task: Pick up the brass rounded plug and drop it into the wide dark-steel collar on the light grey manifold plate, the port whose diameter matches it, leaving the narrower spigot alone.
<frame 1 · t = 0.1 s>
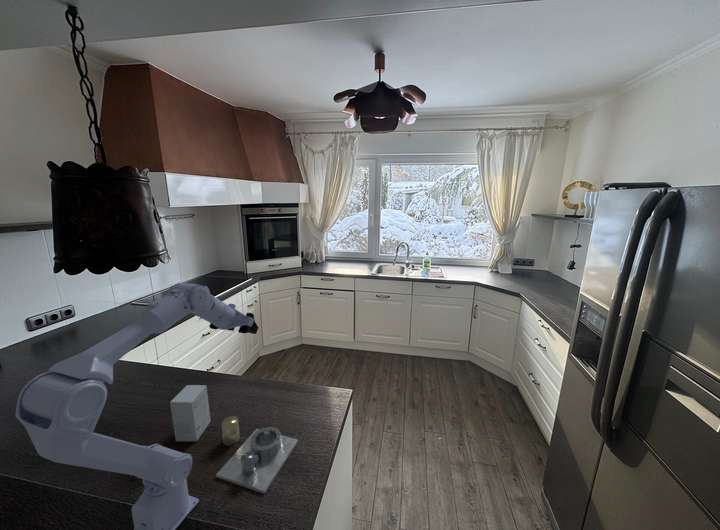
hand: (245, 328, 83), 32 cm above the worktop, tool tilted 50°, fingers open, 7 cm apart
brass rounded plug: (231, 439, 83), on the worktop
manifold plate: (260, 458, 77), on the worktop
small box: (193, 431, 86), on the worktop
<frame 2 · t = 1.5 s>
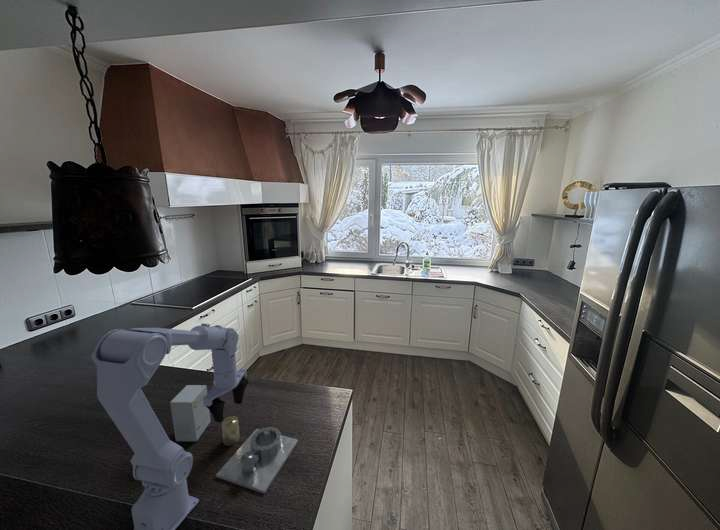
hand: (229, 411, 82), 9 cm above the worktop, tool pointing down, fingers open, 7 cm apart
nothing on the worktop moved.
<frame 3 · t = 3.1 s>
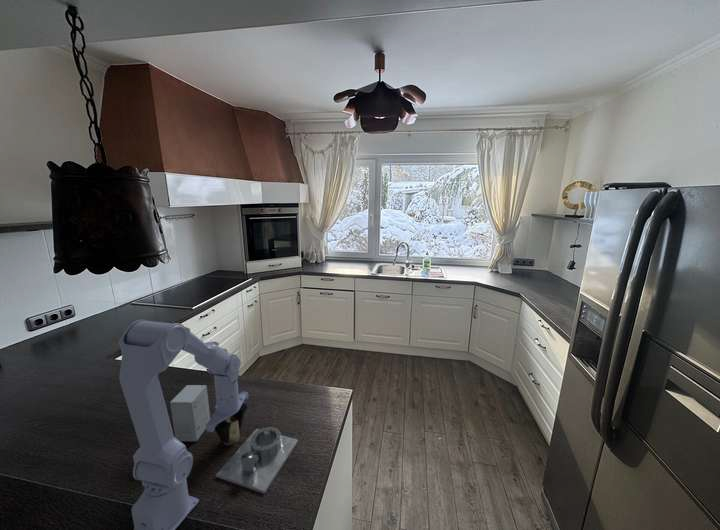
hand: (231, 434, 83), 1 cm above the worktop, tool pointing down, fingers closed on brass rounded plug, 4 cm apart
brass rounded plug: (231, 439, 83), on the worktop, touching gripper
everything else where it was.
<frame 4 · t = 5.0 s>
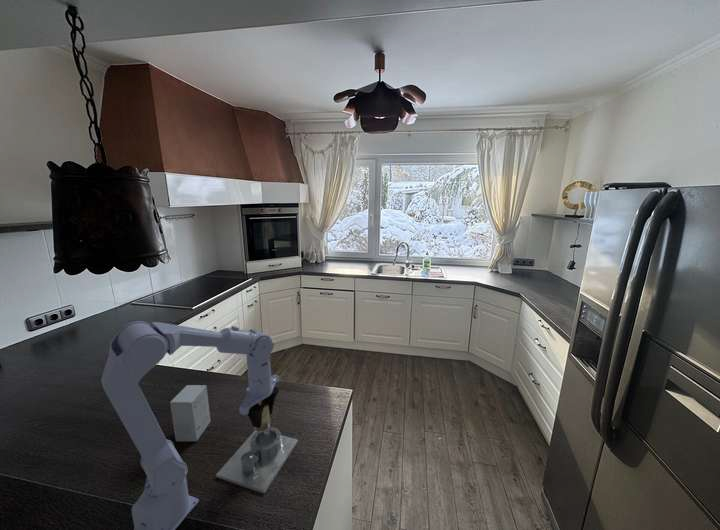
hand: (262, 419, 78), 9 cm above the worktop, tool pointing down, fingers closed on brass rounded plug, 4 cm apart
brass rounded plug: (262, 425, 79), point 8 cm above the worktop, touching gripper
everything else where it was.
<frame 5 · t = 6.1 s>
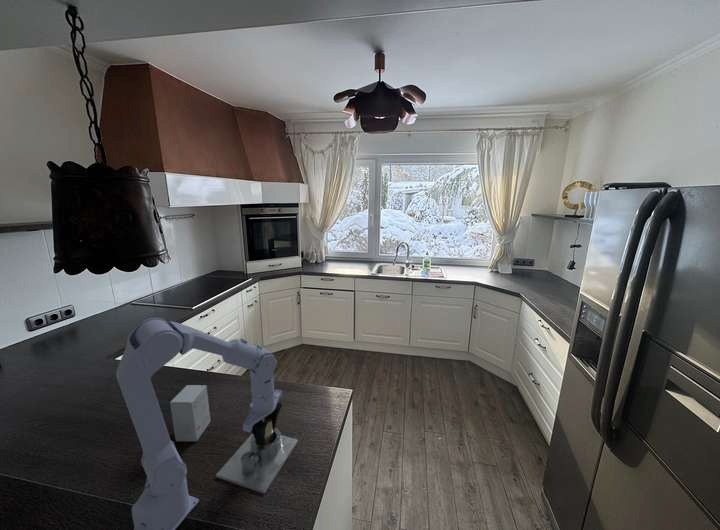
hand: (265, 435, 79), 5 cm above the worktop, tool pointing down, fingers closed on brass rounded plug, 4 cm apart
brass rounded plug: (265, 440, 79), point 3 cm above the worktop, touching gripper
everything else where it was.
when the fingers open (5 cm above the worktop, at t = 6.8 s): brass rounded plug drops 2 cm, resting on manifold plate.
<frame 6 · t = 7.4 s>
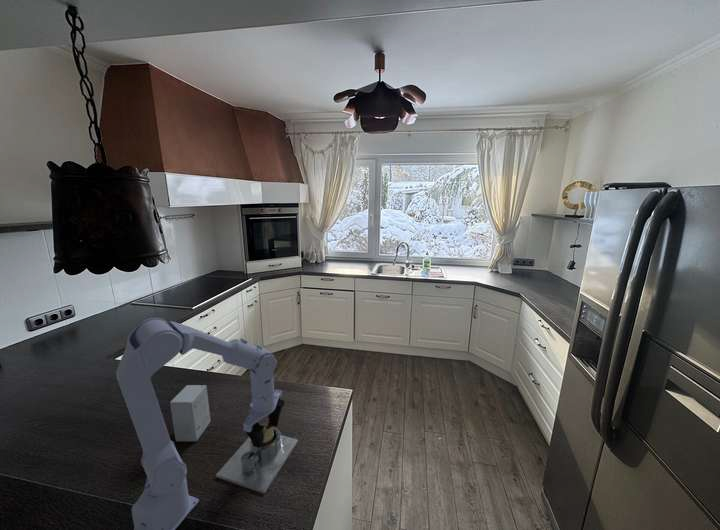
hand: (265, 435, 79), 5 cm above the worktop, tool pointing down, fingers open, 7 cm apart
brass rounded plug: (265, 446, 80), point 1 cm above the worktop, touching manifold plate
everything else where it was.
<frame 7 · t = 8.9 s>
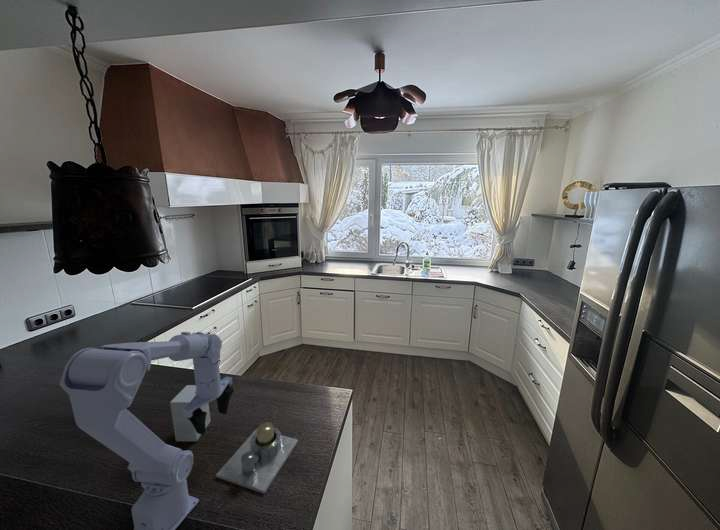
hand: (212, 422, 77), 9 cm above the worktop, tool pointing down, fingers open, 7 cm apart
nothing on the worktop moved.
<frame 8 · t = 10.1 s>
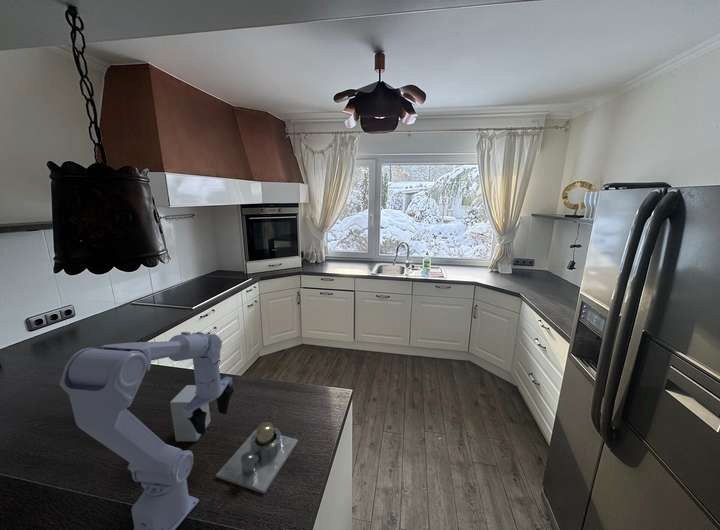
hand: (212, 422, 77), 9 cm above the worktop, tool pointing down, fingers open, 7 cm apart
nothing on the worktop moved.
at the end: brass rounded plug 0.2 cm from the target spot on the manifold plate, point 0.9 cm above the manifold plate's base; brass rounded plug tilted 2°; the gripper is holding nothing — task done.
